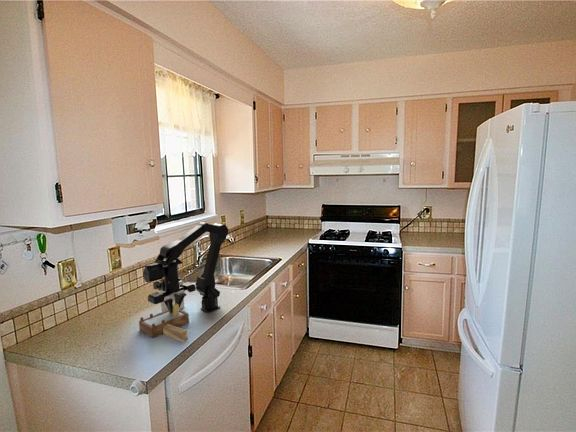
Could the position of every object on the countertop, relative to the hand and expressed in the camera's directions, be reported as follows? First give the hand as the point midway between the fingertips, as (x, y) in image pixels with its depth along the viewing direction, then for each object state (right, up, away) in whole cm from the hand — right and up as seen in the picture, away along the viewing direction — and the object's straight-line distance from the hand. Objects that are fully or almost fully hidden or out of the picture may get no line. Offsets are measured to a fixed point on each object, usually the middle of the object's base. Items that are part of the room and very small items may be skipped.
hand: (174, 312), depth 137 cm
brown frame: (-3, -5, -3) cm, 6 cm away
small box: (-5, -3, +13) cm, 14 cm away
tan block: (+4, -6, -11) cm, 14 cm away
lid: (-3, -2, -3) cm, 5 cm away
